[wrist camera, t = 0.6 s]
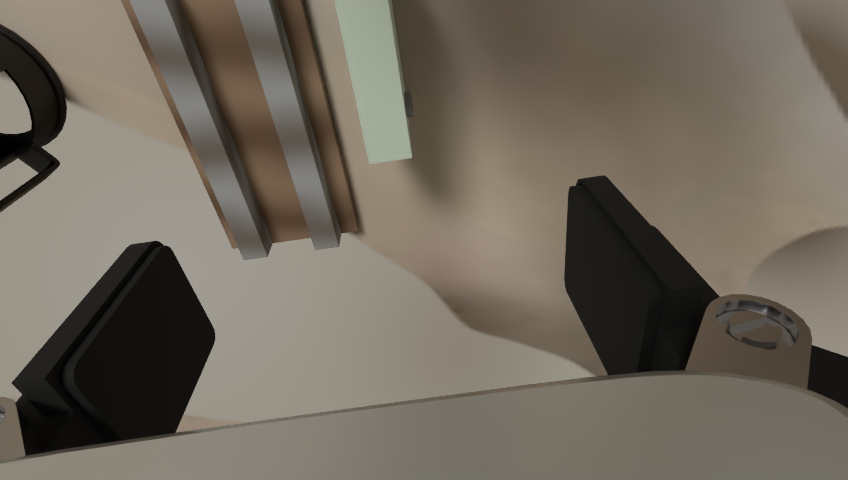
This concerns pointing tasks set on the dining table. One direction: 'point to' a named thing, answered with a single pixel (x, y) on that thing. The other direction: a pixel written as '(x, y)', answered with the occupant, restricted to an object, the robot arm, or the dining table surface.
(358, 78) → the door panel
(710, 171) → the dining table surface
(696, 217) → the dining table surface
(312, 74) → the door track
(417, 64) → the dining table surface
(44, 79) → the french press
